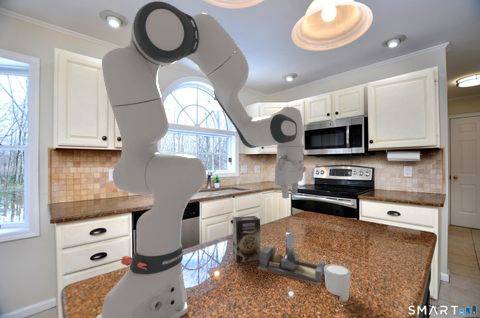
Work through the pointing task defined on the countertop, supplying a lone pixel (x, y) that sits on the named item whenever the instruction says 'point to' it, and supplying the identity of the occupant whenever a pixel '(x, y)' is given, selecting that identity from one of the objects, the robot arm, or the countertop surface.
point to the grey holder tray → (303, 272)
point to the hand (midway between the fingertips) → (290, 196)
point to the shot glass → (338, 280)
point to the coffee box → (246, 238)
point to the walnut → (277, 258)
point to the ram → (290, 254)
